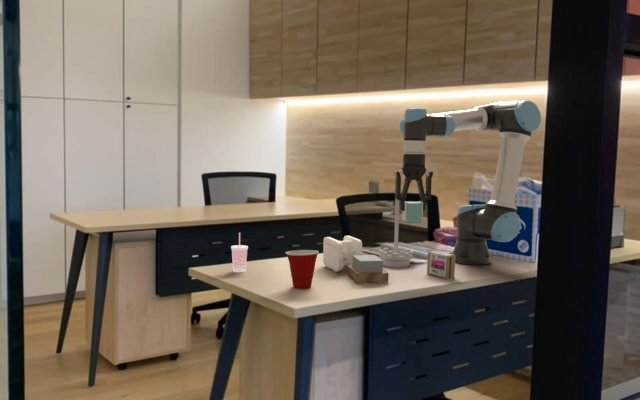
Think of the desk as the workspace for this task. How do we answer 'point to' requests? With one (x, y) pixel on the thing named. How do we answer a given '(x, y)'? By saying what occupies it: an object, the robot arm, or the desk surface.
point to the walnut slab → (367, 276)
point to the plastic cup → (302, 267)
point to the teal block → (414, 212)
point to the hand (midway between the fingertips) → (412, 220)
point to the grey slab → (367, 263)
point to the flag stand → (396, 247)
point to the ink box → (441, 264)
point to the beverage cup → (239, 257)
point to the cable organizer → (340, 252)
